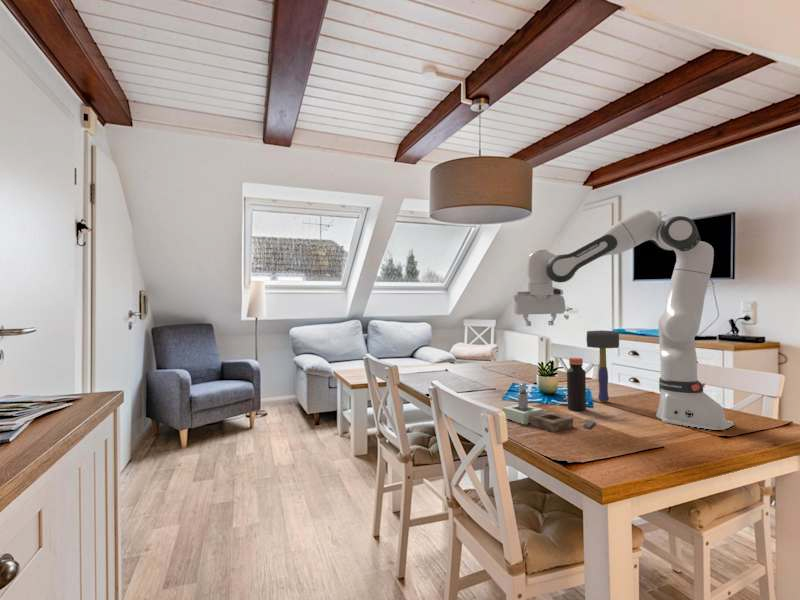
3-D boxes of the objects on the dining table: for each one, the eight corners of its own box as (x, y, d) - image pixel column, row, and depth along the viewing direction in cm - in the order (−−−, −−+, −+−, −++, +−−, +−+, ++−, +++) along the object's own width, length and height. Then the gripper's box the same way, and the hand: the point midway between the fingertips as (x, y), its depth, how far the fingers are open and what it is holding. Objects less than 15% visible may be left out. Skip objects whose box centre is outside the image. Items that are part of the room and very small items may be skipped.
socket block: (573, 426, 146) (572, 418, 146) (553, 432, 141) (553, 422, 141) (549, 420, 155) (549, 411, 155) (529, 424, 150) (529, 416, 150)
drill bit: (530, 419, 156) (529, 384, 156) (523, 421, 154) (522, 385, 154) (522, 417, 159) (522, 382, 159) (516, 419, 157) (515, 383, 157)
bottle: (582, 406, 172) (581, 357, 172) (588, 411, 165) (587, 359, 165) (565, 406, 173) (564, 357, 173) (570, 411, 166) (569, 359, 166)
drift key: (589, 430, 144) (589, 426, 144) (583, 429, 145) (583, 425, 145) (595, 424, 150) (595, 420, 150) (589, 423, 151) (589, 420, 151)
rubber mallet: (587, 402, 179) (586, 330, 179) (587, 398, 186) (586, 329, 186) (620, 405, 174) (619, 331, 174) (619, 400, 181) (618, 329, 181)
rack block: (543, 420, 155) (543, 409, 155) (523, 424, 149) (523, 413, 149) (522, 414, 163) (521, 403, 163) (503, 418, 158) (502, 407, 158)
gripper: (517, 291, 167) (517, 326, 167) (566, 290, 169) (567, 325, 169) (511, 291, 173) (511, 325, 173) (559, 290, 176) (559, 324, 176)
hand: (539, 325), depth 171 cm, fingers open, 8 cm apart
